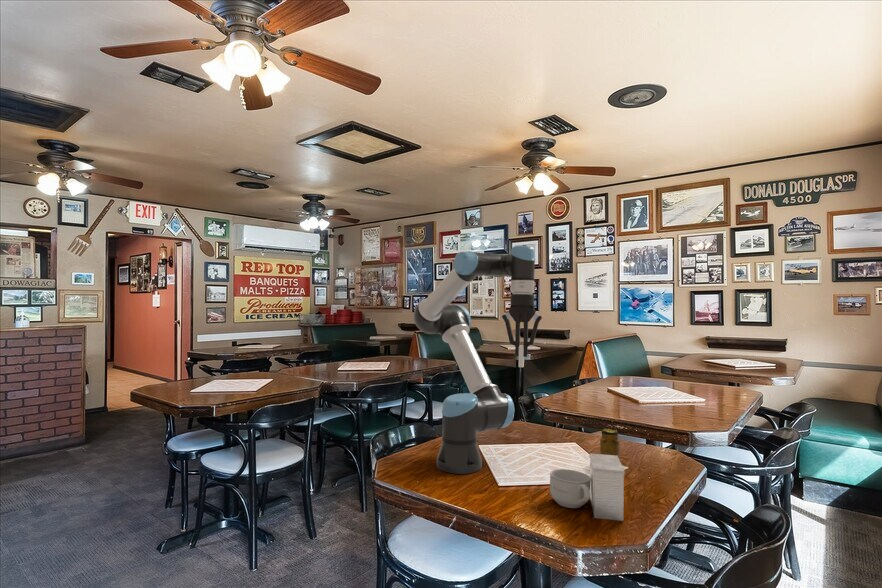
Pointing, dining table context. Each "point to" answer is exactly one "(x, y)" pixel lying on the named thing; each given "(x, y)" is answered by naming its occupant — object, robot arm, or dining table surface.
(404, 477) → the dining table surface
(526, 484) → the dining table surface
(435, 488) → the dining table surface
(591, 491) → the napkin dispenser
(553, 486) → the teacup
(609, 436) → the condiment
